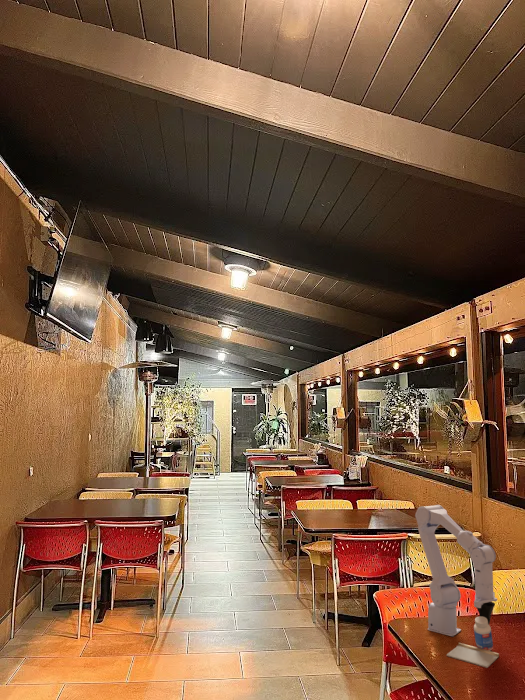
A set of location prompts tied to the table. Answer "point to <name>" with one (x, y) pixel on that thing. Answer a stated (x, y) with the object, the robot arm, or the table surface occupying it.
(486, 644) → the pill bottle
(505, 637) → the table surface
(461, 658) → the mat
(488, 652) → the stop strip
